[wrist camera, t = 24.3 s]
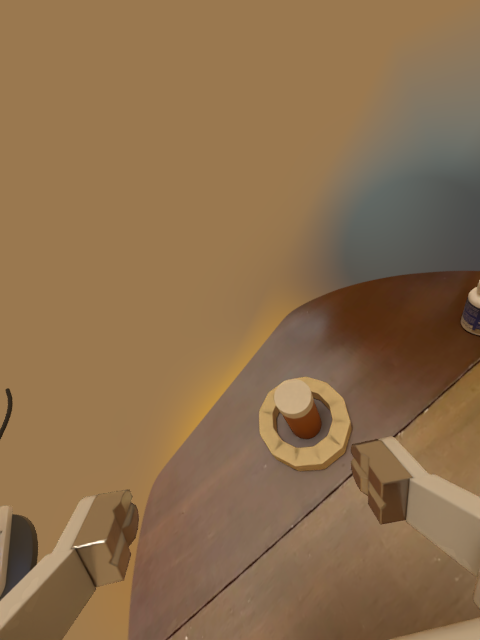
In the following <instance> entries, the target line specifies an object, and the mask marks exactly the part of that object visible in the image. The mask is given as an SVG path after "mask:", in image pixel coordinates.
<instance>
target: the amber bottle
mask: <svg viewBox="0 0 480 640" xmlns="http://www.w3.org/2000/svg"><path fill="white" fill-rule="evenodd" d="M274 401H275V404H276V406H277V408H278V409H279V411H280V412H281V413H282V415H283V416H284V418H285V420H286V422H287V423H288V425H289V427H290V428H291V430H292V432H293V433H294V434H295V435H296V436H298V437H300V438H303V439H309V438H312V437H314V436H316V435H317V434H318V433H319V431H320V429H321V418H320V416H319V413H318V411H317V408H316V405H315V403H314V400H313V395H312V393H311V390H310V388H309V386H308V385H307V384H306V383H305V382H303V381H301V380H297V379H290V380H286V381H284V382H282V383H281V384H280V385H279V386H278V387H277V389H276V391H275V394H274Z"/></svg>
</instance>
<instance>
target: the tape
mask: <svg viewBox="0 0 480 640" xmlns="http://www.w3.org/2000/svg"><path fill="white" fill-rule="evenodd" d="M296 379H297V380H301V381H303V382H305V383H306V384H307V385H308V386H309V388H310V390H311V393H312V395H313V398H315V399H318V400H321V401H322V402H323V403H324V404H325V406H326V407H327V408H328V409H329V410H330V411H331V415H332V419H333V421H332V424H331V427H330V430H329V433H328V436H327V437H325V438H324V439H323V440H322V441H320V442H319V443H318V444H316V445H315V446H313V447H303V448H296V447H294V446H292V445H290V444H287V443H285V442H283V441H282V440H281V438H280V437H279V435H278V434H277V422H276V418H277V416H278V414H279V412H280V411H279V409H278V408H277V406H276V404H275V401H274V394H275V391H276V389H277V387H278V386H279V385H278V386H277V387H276V388H274V389H273V390H272V391H270V392H269V393H268V395H267V397H266V399H265V401H264V403H263V405H262V407H261V409H260V411H259V429H260V435H261V437H262V438H263V440H264V442H265V443H266V445H267V447H268V448H269V450H270V452H271V453H272V455H273V456H274V457H275V458H276V459H277V460H279V461H280V462H282V463H284V464H286V465H288V466H290V467H292V468H293V469H295V470H297V471H309V470H322V469H326V468H327V467H328V466H329V465H331V464H332V463H333V462H334V461H336V460H337V459H338V458H339V457H340V456H342V455H343V454H344V453H345V451H346V447H347V444H348V440H349V437H350V433H351V430H352V427H351V423H350V419H349V415H348V412H347V409H346V405H345V402H344V399H343V398H342V397H341V396H340V395H339V394H338V393H337V392H336V391H335V390H334V389H333V388H332V387H331V386H330V385H329V384H327V383H326V382H323V381H319V380H316V379H312V378H309V377H302V378H296ZM285 381H286V380H285Z"/></svg>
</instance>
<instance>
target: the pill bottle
mask: <svg viewBox="0 0 480 640" xmlns="http://www.w3.org/2000/svg"><path fill="white" fill-rule="evenodd" d="M461 325H462V327H463V328H464V329H465V330H467V331H468V332H470V333H472V334H475V335H479V336H480V280H479V283H478V286H477V287H476V288H474V289H473V290H471V291H470V293H469V295H468V298H467V301H466V305H465V308H464V311H463V314H462V318H461Z"/></svg>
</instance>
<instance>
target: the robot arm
mask: <svg viewBox="0 0 480 640" xmlns="http://www.w3.org/2000/svg"><path fill="white" fill-rule="evenodd" d="M6 393H7V396H8V409H7V414H6V417H5V420H4V422H3V425H2V427H1V429H0V439H1V437H2V435H3V432H4V430H5V428H6V426H7V423H8V421H9V418H10V415H11V411H12V396H11V393H10V390H9V389H6ZM351 454H352V455H353V457H354V458H353V460H352V461H351V470H352V473H353V477H354V479H355V482H356V484H357V486H358V487H359V489H360V491H361V492H363V493H364V494H366V495H367V496H368V505H369V506H370V508H371V510H372V511H373V513H374V515H375V516H376V518H377V520H378V521H379V523H380V525H381V524H387V523H392V522H398V521H403V520H406V522H407V523H408V524H410V525H411V526H412V527H413V528H415V529H416V530H417V531H418V532H420V533H421V534H422V535H424V536H425V537H426V538H427V539H429V540H430V541H431V542H432V543H434V544H435V545H436V546H437V547H439V548H440V549H441V550H443V551H444V552H445V553H446V554H448V555H449V556H450V557H451V558H453V559H454V560H455V561H456V562H458V563H459V564H460V565H462V566H463V567H464V568H465V569H467V570H468V571H469V572H470V573H472V574H473V575H474V576H475V577H477V580H476V584H475V589H474V593H473V601H474V603H475V604H476V605H477V607H478V608H479V610H480V497H479V496H477V495H475V494H473V493H471V492H469V491H467V490H465V489H463V488H461V487H459V486H457V485H455V484H453V483H451V482H449V481H447V480H445V479H443V478H441V477H439V476H437V475H435V474H429V473H428V472H427V471H426V470H425V469H424V468H423V467H422V466H421V465H420V464H419V463H418V462H417V461H416V460H415V459H414V457H413V456H412V455H411V454H410V453H409V452H408V451H407V450H406V449H405V448H404V447H403V446H402V445H401V444H400V443H399V442H398V441H397V439H396V438H394V437H392V436H391V437H386V438H381V439H375V440H370V441H365V442H361V443H356V444H352V446H351ZM131 500H132V494H131V492H130V490H122V491H116V492H110V493H104V494H98V495H94V496H88V497H84V498H83V499H82V500H81V501H80V502H79V503H78V505H77V507H76V509H75V511H74V513H73V515H72V516H71V519H70V520H69V523H68V524H67V526H66V528H65V530H64V532H63V533H62V535H61V537H60V539H59V541H58V543H57V545H56V546H55V549H54V550H53V552H52V553H51V554H47V555H46V556H45V557H44V558H43V559H42V560H41V561H40V562H39V563H38V564H37V565H36V566H35V567H34V568H33V569H32V570H31V571H30V572H29V573H28V574H27V575H26V576H25V577H24V578H23V579H22V580H21V581H20V582H19V583H18V584H17V585H16V586H15V587H14V588H13V589H12V590H11V591H10V592H9V593H8V594H7V595H6V596H5V597H4V598H3V599H2V600H1V601H0V640H62V639H63V637H64V636H65V635H66V633H67V632H68V630H69V629H70V627H71V626H72V624H73V623H74V621H75V620H76V618H77V617H78V615H79V614H80V612H81V611H82V609H83V608H84V606H85V605H86V603H87V602H88V601H89V599H90V598H91V596H92V595H93V593H94V592H95V590H96V588H95V587H99V586H103V585H106V584H111V583H115V582H119V581H123V580H124V578H125V575H126V570H127V567H128V563H129V560H130V556H131V553H130V550H129V546H130V544H131V543H132V542H133V541H134V539H135V538H136V534H137V530H138V521H139V515H138V509H137V507H136V505H134V504H133V503H131ZM12 512H13V507H12V506H1V507H0V596H1V594H2V592H3V590H4V588H5V584H6V575H7V565H8V554H9V544H10V533H11V523H12ZM388 640H480V617H479V618H475V619H471V620H467V621H462V622H458V623H454V624H450V625H446V626H442V627H437V628H433V629H429V630H425V631H421V632H417V633H413V634H408V635H404V636H400V637H396V638H392V639H388Z"/></svg>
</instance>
